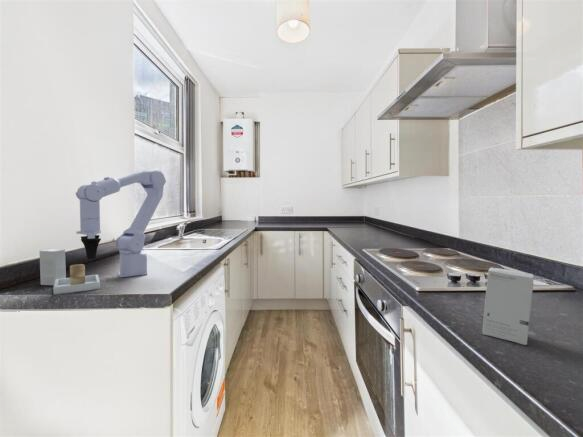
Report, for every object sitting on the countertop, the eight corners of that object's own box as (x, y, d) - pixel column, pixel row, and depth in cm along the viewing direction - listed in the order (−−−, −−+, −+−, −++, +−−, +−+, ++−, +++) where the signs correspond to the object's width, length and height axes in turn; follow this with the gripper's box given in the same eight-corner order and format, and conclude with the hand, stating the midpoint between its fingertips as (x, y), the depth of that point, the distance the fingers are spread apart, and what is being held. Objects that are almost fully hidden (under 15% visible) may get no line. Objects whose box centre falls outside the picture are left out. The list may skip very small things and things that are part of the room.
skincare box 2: (482, 334, 66) (485, 270, 65) (485, 326, 70) (488, 266, 69) (529, 346, 60) (533, 276, 59) (530, 336, 65) (533, 271, 64)
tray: (98, 280, 106) (97, 274, 106) (100, 288, 96) (99, 282, 96) (55, 285, 98) (55, 279, 98) (53, 295, 89) (53, 287, 89)
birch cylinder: (85, 283, 100) (84, 263, 100) (85, 286, 97) (84, 265, 96) (70, 285, 98) (70, 265, 97) (70, 288, 94) (69, 267, 94)
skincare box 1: (66, 282, 103) (65, 249, 102) (55, 285, 99) (54, 251, 98) (51, 281, 104) (50, 248, 103) (39, 285, 99) (38, 250, 99)
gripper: (76, 217, 105) (77, 254, 106) (75, 220, 93) (77, 261, 94) (99, 217, 109) (100, 253, 110) (101, 219, 98) (102, 259, 98)
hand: (91, 256), depth 102 cm, fingers open, 7 cm apart
